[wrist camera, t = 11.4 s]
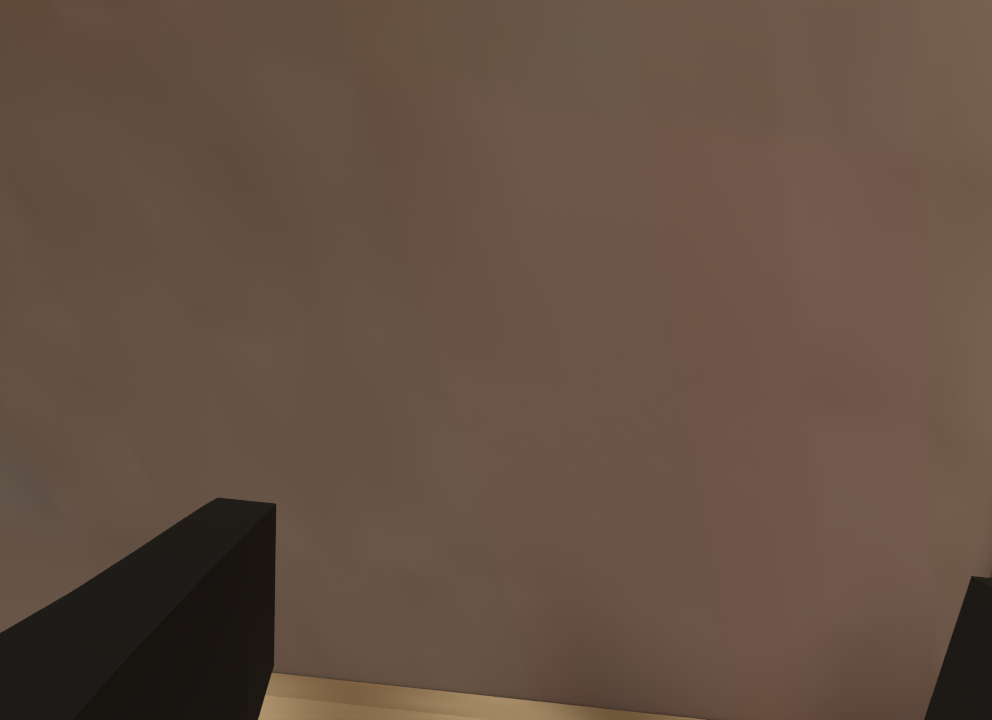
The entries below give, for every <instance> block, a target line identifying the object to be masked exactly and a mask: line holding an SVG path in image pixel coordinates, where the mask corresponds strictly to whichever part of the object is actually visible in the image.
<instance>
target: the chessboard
mask: <svg viewBox="0 0 992 720" xmlns="http://www.w3.org/2000/svg"><path fill="white" fill-rule="evenodd" d="M258 720H705V719H696V718H687V717H678V716H668V715H659V714H650V713H641V712H631V711H622V710H613V709H603V708H594V707H585V706H576V705H566V704H557V703H548V702H539V701H529V700H520V699H511V698H502V697H492V696H483V695H474V694H465V693H455V692H446V691H437V690H427V689H418V688H409V687H400V686H390V685H381V684H372V683H363V682H353V681H344V680H335V679H326V678H316V677H307V676H298V675H289V674H279V673H272V674H271V677H270V681H269V684H268V688H267V691H266V695H265V698H264V702H263V705H262V708H261V712H260V715H259V719H258Z"/></svg>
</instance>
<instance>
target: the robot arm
mask: <svg viewBox="0 0 992 720" xmlns="http://www.w3.org/2000/svg"><path fill="white" fill-rule="evenodd" d="M275 547H276V504H274V503H264V502H255V501H245V500H235V499H226V498H216V499H214V500H213V501H211V502H209V503H208V504H206V505H204V506H203V507H201V508H199V509H198V510H196V511H195V512H193V513H192V514H190V515H189V516H187V517H185V518H184V519H182V520H181V521H179V522H178V523H176V524H175V525H173V526H172V527H170V528H169V529H167V530H166V531H164V532H163V533H161V534H160V535H158V536H157V537H155V538H154V539H152V540H151V541H149V542H148V543H146V544H145V545H143V546H142V547H140V548H139V549H137V550H136V551H134V552H133V553H131V554H130V555H128V556H126V557H125V558H123V559H122V560H120V561H119V562H117V563H116V564H114V565H112V566H111V567H109V568H108V569H106V570H105V571H103V572H102V573H100V574H98V575H97V576H95V577H94V578H92V579H91V580H89V581H88V582H86V583H85V584H83V585H81V586H80V587H78V588H77V589H75V590H73V591H72V592H70V593H69V594H67V595H65V596H63V597H62V598H60V599H58V600H57V601H55V602H53V603H51V604H50V605H48V606H46V607H45V608H43V609H41V610H39V611H38V612H36V613H34V614H33V615H31V616H29V617H27V618H26V619H24V620H22V621H20V622H19V623H17V624H15V625H14V626H12V627H10V628H8V629H7V630H5V631H3V632H2V633H0V720H258V719H259V715H260V712H261V708H262V705H263V702H264V698H265V695H266V691H267V688H268V684H269V681H270V677H271V674H272V670H273V667H274V618H275ZM924 720H992V578H984V577H974V576H972V577H971V580H970V583H969V586H968V589H967V592H966V595H965V598H964V601H963V604H962V607H961V610H960V613H959V616H958V619H957V622H956V625H955V628H954V631H953V634H952V637H951V640H950V643H949V646H948V649H947V652H946V655H945V658H944V661H943V664H942V668H941V671H940V674H939V677H938V680H937V683H936V686H935V689H934V692H933V695H932V698H931V701H930V704H929V707H928V710H927V713H926V716H925V719H924Z"/></svg>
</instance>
